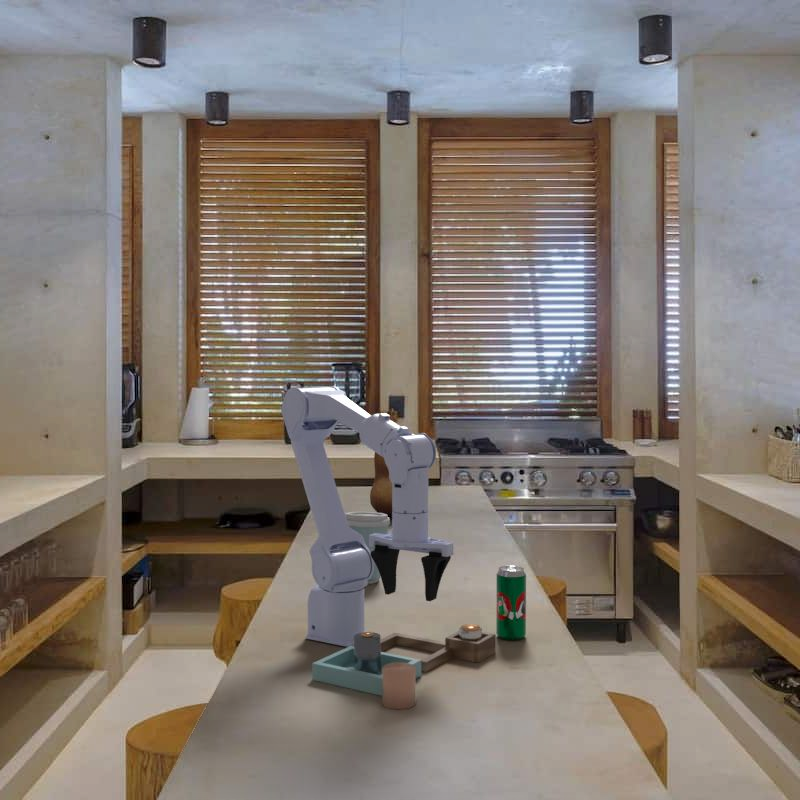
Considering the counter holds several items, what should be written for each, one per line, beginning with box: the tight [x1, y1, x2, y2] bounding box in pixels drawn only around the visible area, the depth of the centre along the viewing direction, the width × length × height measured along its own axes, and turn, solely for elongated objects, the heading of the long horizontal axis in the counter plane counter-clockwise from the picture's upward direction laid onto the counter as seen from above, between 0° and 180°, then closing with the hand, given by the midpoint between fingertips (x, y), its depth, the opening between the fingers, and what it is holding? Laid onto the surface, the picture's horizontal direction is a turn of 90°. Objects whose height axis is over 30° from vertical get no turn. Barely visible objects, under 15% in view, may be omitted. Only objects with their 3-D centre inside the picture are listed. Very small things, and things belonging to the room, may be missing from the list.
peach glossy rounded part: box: [382, 662, 416, 710], centre depth 129 cm, size 5×5×5 cm
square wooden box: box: [444, 630, 497, 664], centre depth 150 cm, size 6×6×3 cm
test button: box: [458, 623, 483, 642], centre depth 150 cm, size 4×4×3 cm
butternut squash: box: [369, 451, 392, 518], centre depth 280 cm, size 14×13×25 cm
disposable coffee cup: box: [344, 511, 391, 585], centre depth 200 cm, size 11×11×15 cm
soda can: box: [495, 565, 527, 642], centre depth 159 cm, size 5×5×12 cm
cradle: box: [380, 632, 453, 673], centre depth 149 cm, size 12×10×2 cm
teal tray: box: [311, 645, 422, 697], centre depth 139 cm, size 13×10×2 cm
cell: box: [353, 631, 382, 675], centre depth 139 cm, size 4×4×6 cm
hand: (410, 596), depth 146 cm, fingers open, 7 cm apart
